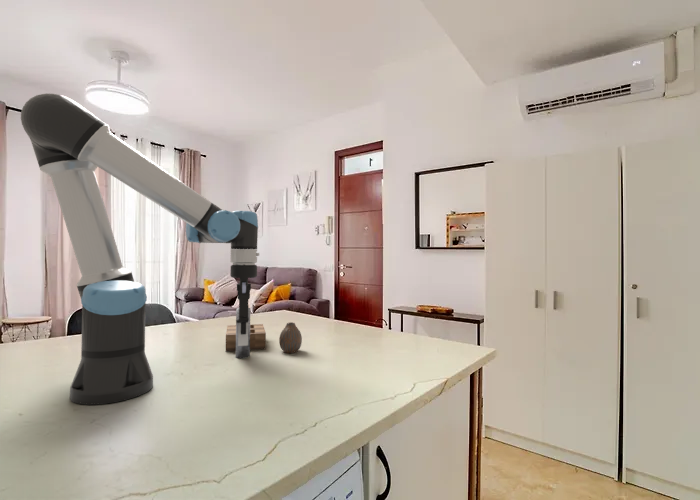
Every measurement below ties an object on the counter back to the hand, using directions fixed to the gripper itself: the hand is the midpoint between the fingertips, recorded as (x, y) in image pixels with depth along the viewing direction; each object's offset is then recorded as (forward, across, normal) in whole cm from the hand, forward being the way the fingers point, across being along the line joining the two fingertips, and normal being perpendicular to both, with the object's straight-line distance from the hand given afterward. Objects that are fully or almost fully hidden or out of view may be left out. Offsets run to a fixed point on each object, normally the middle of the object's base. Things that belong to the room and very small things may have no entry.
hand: (242, 341), depth 110 cm
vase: (+5, +2, -14) cm, 15 cm away
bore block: (+4, +15, -1) cm, 16 cm away
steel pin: (+4, 0, 0) cm, 4 cm away
